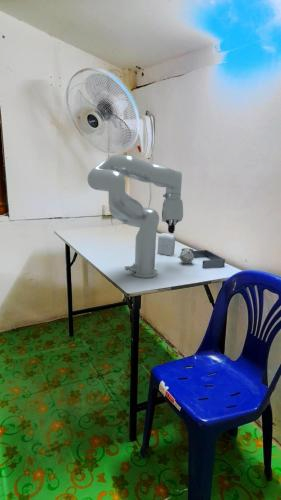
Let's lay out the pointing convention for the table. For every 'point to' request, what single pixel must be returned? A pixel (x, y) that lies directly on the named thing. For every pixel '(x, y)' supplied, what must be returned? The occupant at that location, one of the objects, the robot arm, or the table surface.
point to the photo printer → (166, 244)
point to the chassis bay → (214, 259)
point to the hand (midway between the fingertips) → (171, 232)
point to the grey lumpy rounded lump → (186, 256)
